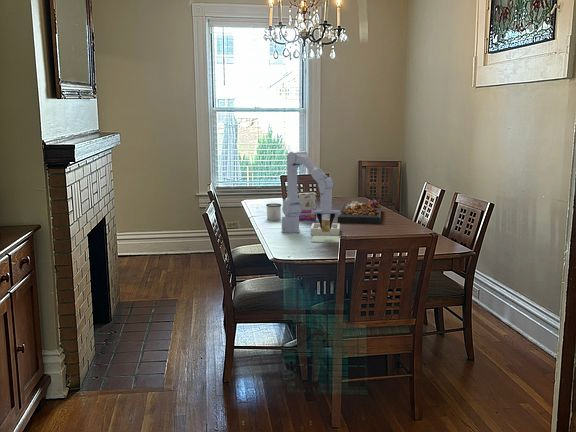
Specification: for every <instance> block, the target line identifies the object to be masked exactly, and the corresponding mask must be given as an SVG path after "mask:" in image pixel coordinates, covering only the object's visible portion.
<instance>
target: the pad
mask: <svg viewBox="0 0 576 432" xmlns="http://www.w3.org/2000/svg"><path fill="white" fill-rule="evenodd" d="M339 237H340V238H341V236H340V235H312V238H311V239H310V240H311V241H310V242H311V243H322V244H323V243H327V244H329V243H331V244H334V243H335V244H339V243H340V241H339Z"/></svg>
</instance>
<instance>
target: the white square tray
mask: <svg viewBox="0 0 576 432" xmlns="http://www.w3.org/2000/svg"><path fill="white" fill-rule="evenodd" d="M340 226H341V223H334V222H332V226H331V229H330V232H322V229H321V227H320V223H319V222H312V224H311V226H310V235H311V236H340V231H341V230H340V229H341V227H340Z"/></svg>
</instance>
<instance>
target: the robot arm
mask: <svg viewBox="0 0 576 432" xmlns="http://www.w3.org/2000/svg"><path fill="white" fill-rule="evenodd" d="M302 165H303V166H304V167H305V168H306V169H307V170H308V171H309V172H311V173H310V174H311V175H310V176H311V177H312V179H313V180H314V181H315V182H316V183H317V187H318V189H319V190H318V191H319V193H320V194H319V195H320V196H319V197H320V203H319V204H320V207H319V209H316V210H312V214H316V219H317V220H318V223H320V227H321V229H322V219H323V215H329V219H330V229H331V226H332V223H334V222H333V221H334V219H335V217H336V215H337V216H338V215H340V211H341V209H339V210H338V209H332V208H333V207H332V205H333V203H332V201H333V200H332V199H333V198H332V196H333V191H332V190H333V188H334V187H335V180H334V179H333V177H329V176H328V175H327V174H325V172H324V171H323V170H322V168H320V167H316V165H315V164H314V163H313V161H312V160H311V159H310V155H309V154H308V153H307V151H306V150H301V151H300V150H299V151H290V152H289V153H287V155H286V177H287V178H286V180H287V181H286V183H287V185H286V186H287V187H286V188H287V189H286V190H287V197H286V198H285V199H284V200H283V205H282V209H281V210H282V213H283V215H281V233H292V234H293V233H296V234H297V233H298V234H299V233H300V232H301V229H300V221H299V215H300V213H301V212H302V205H301V200H300V199H299V198H298V194H297V193H298V169H299V167H300V166H302Z"/></svg>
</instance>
